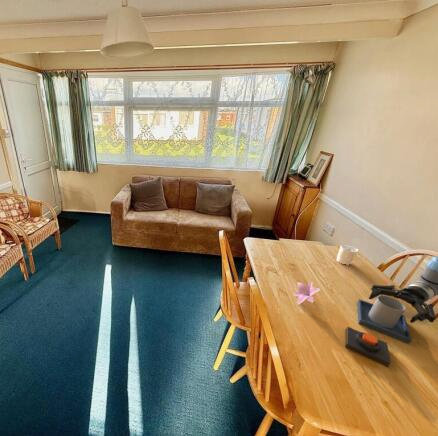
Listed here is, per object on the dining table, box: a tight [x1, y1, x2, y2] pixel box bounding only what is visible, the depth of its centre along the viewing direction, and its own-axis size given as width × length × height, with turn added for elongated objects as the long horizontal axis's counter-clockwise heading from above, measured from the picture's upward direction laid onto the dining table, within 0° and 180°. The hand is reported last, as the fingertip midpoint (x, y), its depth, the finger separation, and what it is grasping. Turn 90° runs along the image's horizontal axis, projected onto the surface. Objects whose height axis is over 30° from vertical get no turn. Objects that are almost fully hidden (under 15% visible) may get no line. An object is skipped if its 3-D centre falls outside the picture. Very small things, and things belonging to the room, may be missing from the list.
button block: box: [344, 326, 391, 368], centre depth 87 cm, size 12×10×4 cm
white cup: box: [336, 244, 359, 266], centre depth 136 cm, size 8×8×10 cm
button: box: [362, 332, 378, 346], centre depth 86 cm, size 4×4×2 cm
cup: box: [368, 294, 407, 328], centre depth 97 cm, size 8×8×10 cm
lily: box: [293, 281, 321, 306], centre depth 109 cm, size 12×12×10 cm
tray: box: [356, 298, 412, 345], centre depth 98 cm, size 15×15×2 cm
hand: (390, 307), depth 95 cm, fingers open, 13 cm apart
